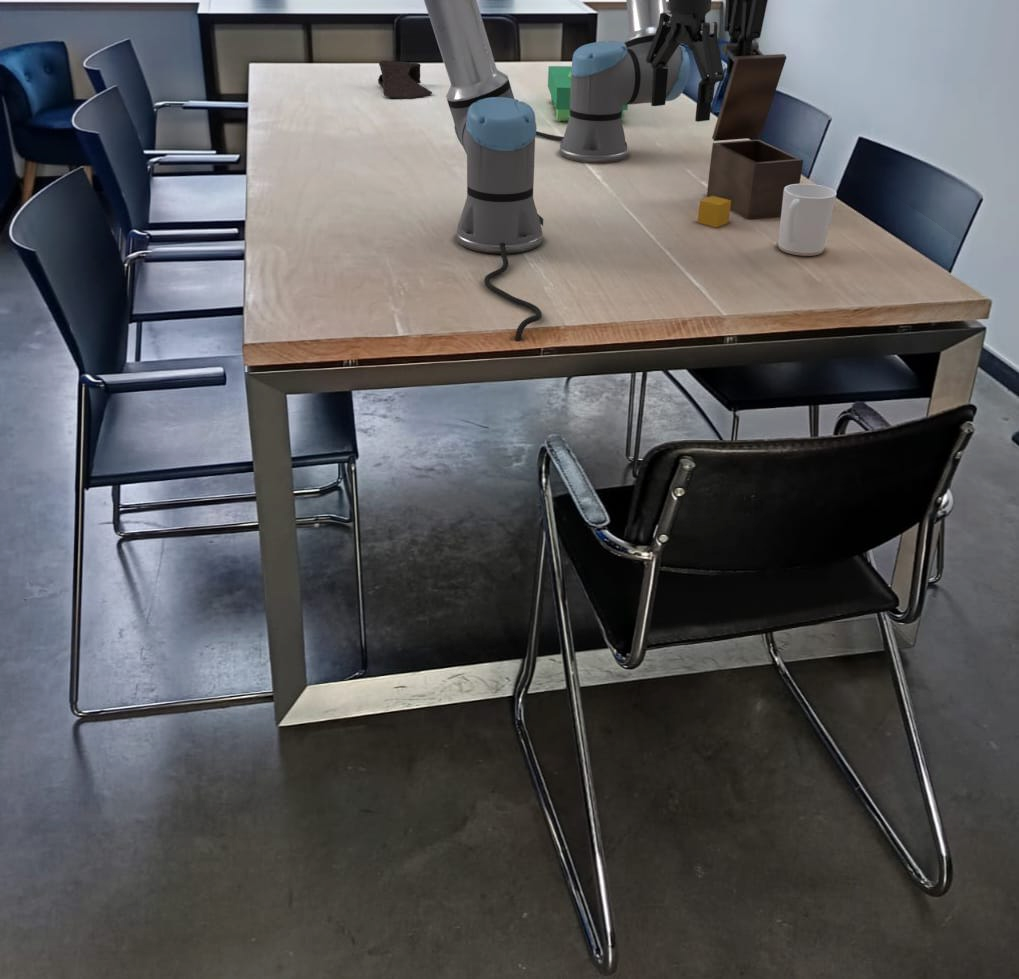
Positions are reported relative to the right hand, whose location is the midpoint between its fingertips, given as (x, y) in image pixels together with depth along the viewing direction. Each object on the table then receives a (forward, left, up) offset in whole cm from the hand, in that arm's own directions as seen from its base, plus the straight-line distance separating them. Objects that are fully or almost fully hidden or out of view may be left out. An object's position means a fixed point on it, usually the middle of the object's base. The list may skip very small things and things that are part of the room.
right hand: (736, 73), depth 214 cm
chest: (+10, -4, -23) cm, 25 cm away
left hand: (+4, -20, -4) cm, 21 cm away
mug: (+34, -18, -23) cm, 44 cm away
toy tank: (-71, +25, -23) cm, 79 cm away
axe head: (-115, -2, -23) cm, 117 cm away
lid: (+6, -2, -4) cm, 7 cm away
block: (+14, -18, -23) cm, 32 cm away
